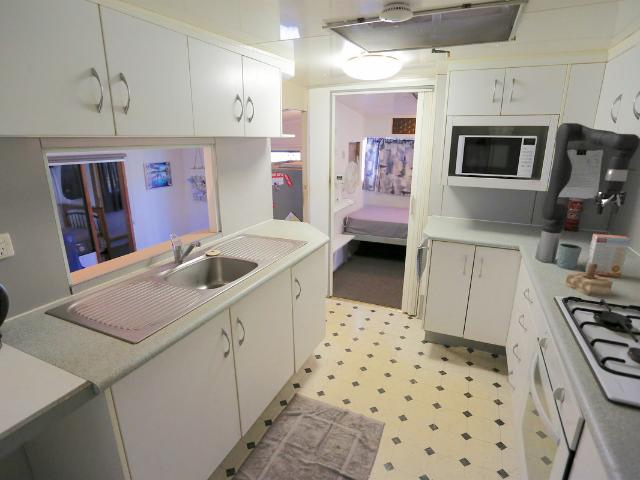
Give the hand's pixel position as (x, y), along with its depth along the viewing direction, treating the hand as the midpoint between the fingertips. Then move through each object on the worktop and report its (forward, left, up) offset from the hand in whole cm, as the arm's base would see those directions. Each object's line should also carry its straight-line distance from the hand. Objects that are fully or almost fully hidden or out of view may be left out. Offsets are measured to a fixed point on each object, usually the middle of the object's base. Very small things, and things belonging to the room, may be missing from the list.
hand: (606, 213), depth 169 cm
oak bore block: (+9, -12, -34) cm, 37 cm away
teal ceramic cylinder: (-19, +5, -34) cm, 39 cm away
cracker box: (-6, +14, -34) cm, 37 cm away
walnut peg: (+9, -12, -32) cm, 35 cm away
